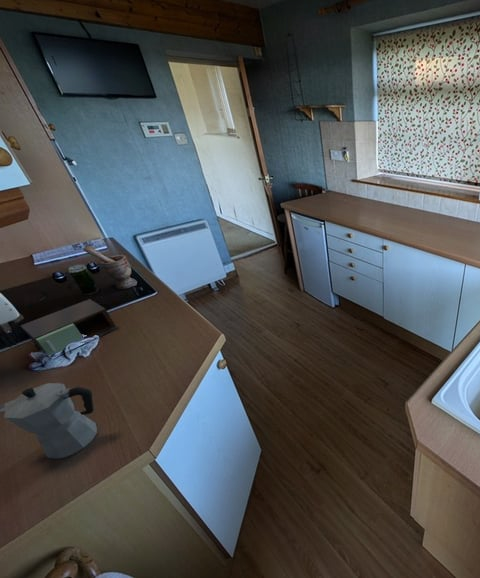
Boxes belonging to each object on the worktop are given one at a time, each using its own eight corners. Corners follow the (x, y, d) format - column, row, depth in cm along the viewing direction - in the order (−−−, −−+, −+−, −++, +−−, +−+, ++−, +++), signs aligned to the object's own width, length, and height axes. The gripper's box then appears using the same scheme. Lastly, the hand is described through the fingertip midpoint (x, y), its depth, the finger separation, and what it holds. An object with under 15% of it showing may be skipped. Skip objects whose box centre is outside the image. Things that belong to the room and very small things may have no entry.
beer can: (100, 287, 129) (86, 263, 122) (98, 293, 125) (83, 268, 119) (84, 291, 126) (69, 266, 120) (82, 296, 122) (66, 271, 116)
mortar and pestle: (106, 295, 124) (81, 251, 113) (105, 286, 129) (81, 245, 119) (139, 286, 130) (118, 244, 120) (137, 278, 136) (117, 238, 125)
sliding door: (51, 357, 91) (37, 340, 88) (48, 355, 92) (35, 338, 88) (86, 341, 98) (74, 325, 94) (83, 339, 99) (72, 323, 95)
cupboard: (52, 359, 92) (36, 340, 88) (35, 344, 98) (20, 325, 94) (119, 328, 105) (108, 310, 101) (100, 316, 111) (89, 298, 107)
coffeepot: (25, 469, 64) (-35, 419, 55) (49, 432, 72) (-1, 382, 62) (111, 445, 69) (69, 395, 60) (125, 412, 76) (89, 363, 67)
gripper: (1, 274, 81) (42, 325, 91) (-90, 300, 70) (-33, 355, 80) (10, 281, 78) (51, 333, 88) (-84, 309, 67) (-25, 366, 77)
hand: (11, 344), depth 84 cm, fingers closed
